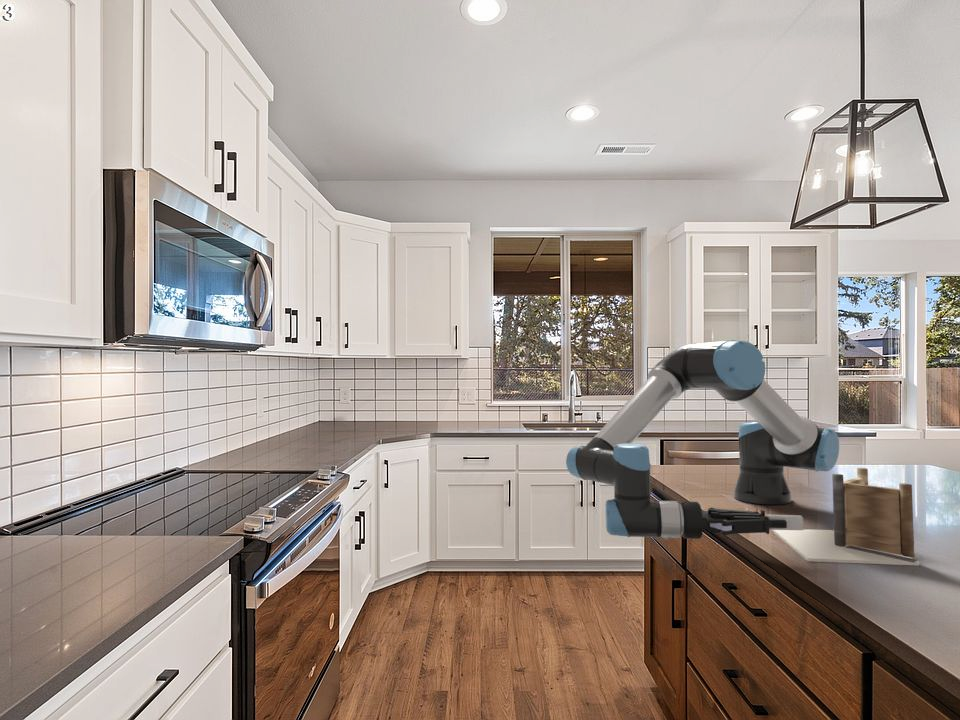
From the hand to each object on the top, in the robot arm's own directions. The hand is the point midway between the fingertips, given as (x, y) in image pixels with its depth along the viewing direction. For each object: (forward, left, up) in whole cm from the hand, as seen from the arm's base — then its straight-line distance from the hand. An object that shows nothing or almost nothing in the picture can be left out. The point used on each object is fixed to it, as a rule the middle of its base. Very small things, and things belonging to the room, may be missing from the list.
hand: (801, 522), depth 116 cm
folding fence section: (-3, +16, -6) cm, 17 cm away
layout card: (-9, +10, -7) cm, 15 cm away
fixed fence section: (-12, +14, -7) cm, 20 cm away
